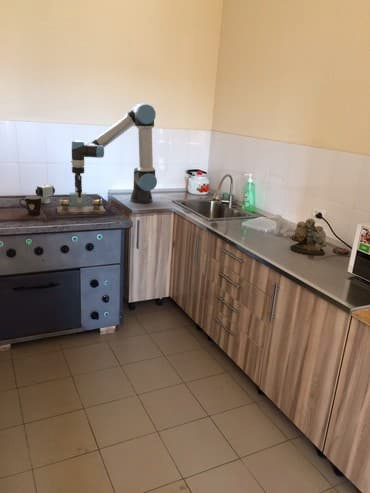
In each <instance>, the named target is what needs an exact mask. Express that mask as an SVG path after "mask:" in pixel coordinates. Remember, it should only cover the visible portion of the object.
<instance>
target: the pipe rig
mask: <svg viewBox="0 0 370 493" xmlns="http://www.w3.org/2000/svg"><path fill="white" fill-rule="evenodd" d="M58 201H59V207H62V210H69V207H70V201H69V200H68V199H66V200H65V199H64V200H63V199H61V198H59V200H58ZM92 206H93V209H94V210H100V206H103V199H102V198H99V199H92Z"/></svg>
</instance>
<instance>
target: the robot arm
mask: <svg viewBox="0 0 370 493" xmlns="http://www.w3.org/2000/svg"><path fill="white" fill-rule="evenodd" d="M156 115H157V113H156V110H155V108H154V106H153V105H150V104H149V103H146V102H145V103H144V102H140V103H137V104H135V105H134V107H132V108H131V109H130V110H129V111H128V112H126V114H125V116H124V117H123V118H121V119H119V121H117V122H116V123H114V124H113V125H112V126H110V127H109V128H108V129H107V130H105V131H104V132H103V133H101V134H100V135H98V137H96V138H95V139H94V140H92V141H91V142H88V143H87V144H85V142H84V141H82V140H73V141H72V142H71V161H70V163H71V172H72V174H74V193H77V203H82V193H83V187H82V186H83V184H82V183H83V182H82V178H83V177H82V174H85V158H98V159H99V158H101V159H102V158H104V156H105V148H106V147H107V146H108V145H109V144H111V143H112V142H114V141H115V140H116V139H117V138H119V137H121V135H123V134H124V133H126V132H127V131H128V130H129V129H131V128H132V127H136V129H137V130H138V131H137V132H138V153H139V154H138V157H139V160H138V161H139V167H134V170H133V190H132V192H131V195H130V201H131V202H133V203H139V204H147V203H148V204H149V203H152V202H153V196H152V190H154V189H155V188H156V187H157V183H158V181H157V180H158V179H157V177H156V168H155V167H154V164H153V162H154V161H153V128H154V127H155V120H156Z"/></svg>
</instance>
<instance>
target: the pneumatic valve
mask: <svg viewBox="0 0 370 493" xmlns="http://www.w3.org/2000/svg"><path fill="white" fill-rule="evenodd" d="M55 193H56V189H55V187H54V185H51V184H46V183H45V184H44V185H39V186H36V189H35V196H40V197H41V204H45V205H47V204H50V203H51V202H50V201H51V199H50V197H54V194H55Z"/></svg>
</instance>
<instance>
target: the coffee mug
mask: <svg viewBox="0 0 370 493" xmlns="http://www.w3.org/2000/svg"><path fill="white" fill-rule="evenodd" d="M22 200H23V201H24V202H25V203H26V206H25V205H23V204H22V203H21V201H22ZM41 200H42V197H40V196H37V195H27V196H25V197H24V198H20V199H19V201H18V202H19V205H20V206H21V207H23V208H24V209H26V210H27V214H28V216H31V217H32V216H33V217H36V216H37V217H38V216H40V215H41V206H42V202H41Z"/></svg>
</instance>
